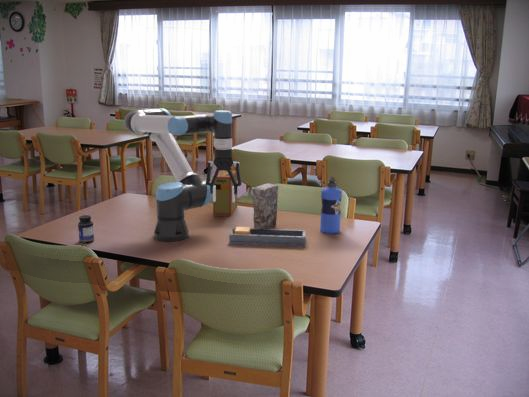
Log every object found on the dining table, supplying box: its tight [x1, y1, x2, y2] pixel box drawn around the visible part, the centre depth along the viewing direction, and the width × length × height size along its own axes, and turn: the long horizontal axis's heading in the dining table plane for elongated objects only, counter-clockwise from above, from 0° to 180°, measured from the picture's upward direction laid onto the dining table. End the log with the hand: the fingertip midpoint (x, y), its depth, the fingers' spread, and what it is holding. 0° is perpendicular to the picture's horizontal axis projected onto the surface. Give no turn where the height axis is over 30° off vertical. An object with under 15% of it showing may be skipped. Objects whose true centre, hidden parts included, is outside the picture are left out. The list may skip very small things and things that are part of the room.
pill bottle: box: [77, 214, 95, 243], centre depth 228 cm, size 6×6×11 cm
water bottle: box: [319, 176, 343, 235], centre depth 243 cm, size 9×9×25 cm
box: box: [212, 170, 238, 217], centre depth 274 cm, size 17×9×20 cm, turn 172°
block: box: [235, 226, 251, 234], centre depth 231 cm, size 6×6×4 cm
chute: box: [228, 227, 307, 248], centre depth 230 cm, size 32×12×4 cm, turn 85°
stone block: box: [252, 182, 279, 229], centre depth 248 cm, size 13×7×20 cm, turn 151°
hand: (224, 201), depth 228 cm, fingers open, 8 cm apart
